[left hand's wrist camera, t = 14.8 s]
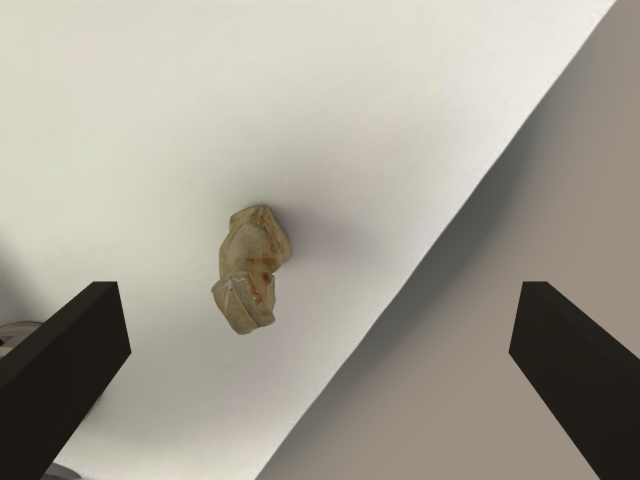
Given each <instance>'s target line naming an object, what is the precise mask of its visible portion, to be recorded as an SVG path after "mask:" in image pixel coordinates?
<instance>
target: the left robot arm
mask: <svg viewBox="0 0 640 480" xmlns="http://www.w3.org/2000/svg"><path fill="white" fill-rule="evenodd" d="M130 354H131V348H130V343H129V338H128V333H127V328H126V323H125V318H124V314H123V309H122V304H121V299H120V294H119V289H118V284H117V282H92V283H91V284H90V285H89V286H87V287H86V288H85V289H84V290H83V291H81V292H80V293H79V294H78V295H77V296H75V297H74V298H73V299H72V300H71V301H69V302H68V303H67V304H66V305H65V306H63V307H62V308H61V309H60V310H59V311H57V312H56V313H55V314H54V315H53V316H52V317H50V318H49V319H48V320H47V321H46V322H44V323H43V324H41V323H34V322H18V323H12V324H8V325H4V326H2V327H0V480H40V479H41V477H42V476H43V474H44V473H45V472H46V470H47V469H48V467H49V466H50V465H51V463H52V462H53V461H54V459H55V458H56V456H57V455H58V454H59V452H60V451H61V449H62V448H63V447H64V445H65V444H66V443H67V441H68V440H69V438H70V437H71V436H72V434H73V433H74V431H75V430H76V429H77V427H78V426H79V425H80V423H81V422H82V421H83V420H84V419H85V418H86V417H87V416H88V415H89V414H90V412H91V411H92V410H93V408H94V407H95V405H96V404H97V403H98V401H99V399H100V397H101V395H102V393H103V391H104V390H105V389H106V387H107V386H108V384H109V383H110V382H111V380H112V379H113V378H114V376H115V375H116V373H117V372H118V371H119V369H120V368H121V366H122V365H123V364H124V362H125V361H126V360H127V358H128V357H129V355H130ZM509 354H510V355H511V357H512V358H513V360H514V361H515V362H516V364H517V365H518V366H519V368H520V369H521V371H522V372H523V373H524V375H525V376H526V378H527V379H528V380H529V382H530V383H531V384H532V386H533V387H534V389H535V390H536V391H537V393H538V394H539V396H540V397H541V398H542V400H543V401H544V402H545V404H546V405H547V407H548V408H549V409H550V411H551V412H552V413H553V415H554V416H555V418H556V419H557V420H558V422H559V423H560V425H561V426H562V427H563V429H564V430H565V431H566V433H567V434H568V436H569V437H570V438H571V440H572V441H573V443H574V444H575V445H576V447H577V448H578V449H579V451H580V452H581V454H582V455H583V456H584V458H585V459H586V461H587V462H588V463H589V465H590V466H591V467H592V469H593V470H594V472H595V473H596V474H597V476H598V477H599V479H600V480H640V359H639V358H637V357H636V356H635V355H634V354H633V353H631V352H630V351H629V350H628V349H627V348H626V347H624V346H623V345H622V344H621V343H620V342H618V341H617V340H616V339H615V338H614V337H612V336H611V335H610V334H609V333H608V332H606V331H605V330H604V329H603V328H602V327H600V326H599V325H598V324H597V323H596V322H594V321H593V320H592V319H591V318H590V317H588V316H587V315H586V314H585V313H584V312H582V311H581V310H580V309H579V308H578V307H577V306H575V305H574V304H573V303H572V302H571V301H569V300H568V299H567V298H566V297H565V296H563V295H562V294H561V293H560V292H559V291H557V290H556V289H555V288H554V287H553V286H551V285H550V284H549V283H548V282H523V284H522V289H521V294H520V299H519V304H518V309H517V314H516V319H515V323H514V328H513V333H512V338H511V343H510V348H509Z"/></svg>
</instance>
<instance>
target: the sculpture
mask: <svg viewBox="0 0 640 480" xmlns="http://www.w3.org/2000/svg"><path fill="white" fill-rule="evenodd" d="M291 254H292V250H291V246H290V243H289V241H288V239H287V237H286V235H285V234H284V232H283V230H282V229H281V227H280V226H279V225H278V223H277V222H276V220H275V219H274V217H273V215H272V214H271V211H270V209H269V208H268V207H267V206H266V205H263V206H259V205H256V206H253V207H250V208H247V209H244V210H242V211H239V212H237V213H235V214H234V215H232V216H231V218H230V233H229V234H228V236H227V237H226V239H225V240H224V242H223V243H222V245H221V247H220V250H219V271H220V279H221V280H220V281H218V282H217V283H216V284H215V285H214V286H213V287H212V289H211V292H212V293H213V296H214V299H215V302H216V304H217V306H218V308H219V309H220V311H221V312H222V313H223V315H224V316H225V318H226V319H227V321H228V322H229V324H230V325H231V327H232V329H233V330H234V331H235V332H237V333H238V334H240V335H243V334H248V333H250V332H252V331H253V330H255V329H256V328H259V327H264V326H267V325H271V324H272V323H274V322H275V318H274V315H273V313H272V311H273V308H274V304H275V277H274V275H272V273H273V272H275V271H276V270H278V269H279V268H280V266H281V264H282V263H284V262H287V261H288V260H289V259H290V257H291Z"/></svg>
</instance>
